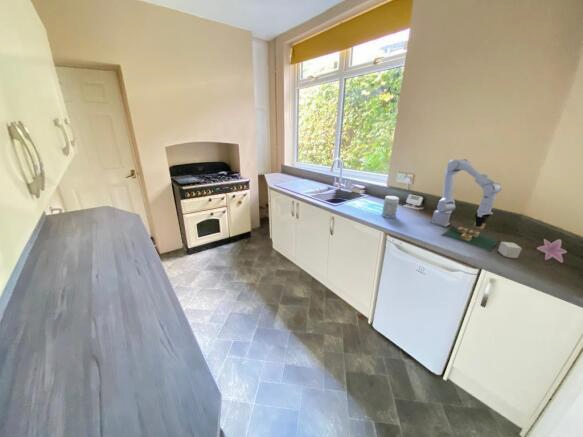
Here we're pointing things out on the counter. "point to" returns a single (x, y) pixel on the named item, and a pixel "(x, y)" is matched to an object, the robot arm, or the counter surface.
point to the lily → (552, 250)
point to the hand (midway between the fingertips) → (479, 225)
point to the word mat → (476, 241)
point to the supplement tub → (390, 206)
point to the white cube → (509, 249)
